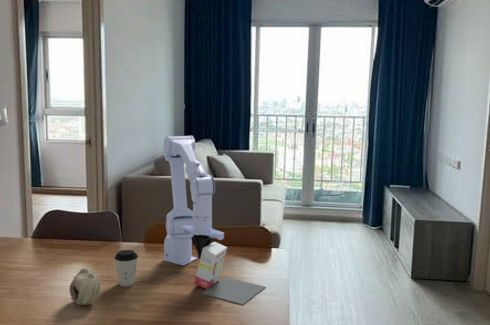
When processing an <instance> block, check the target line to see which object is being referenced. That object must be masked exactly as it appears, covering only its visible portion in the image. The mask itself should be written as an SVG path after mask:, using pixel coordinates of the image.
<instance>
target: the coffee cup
mask: <svg viewBox="0 0 490 325" xmlns="http://www.w3.org/2000/svg"><path fill="white" fill-rule="evenodd" d="M138 257H139V256H138V254H137V253H136V252H135V250H132V249H123V250H119V251H118V252H117V253H116V254H115V256H114V260H115V266H116V273H117V281H118V284H119V286H121V287H124V288H125V287H126V288H127V287H130V286H133V285H135V281H136V280H135V279H136V273H137V272H136V271H137V262H138Z"/></svg>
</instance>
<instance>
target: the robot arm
mask: <svg viewBox="0 0 490 325" xmlns="http://www.w3.org/2000/svg"><path fill="white" fill-rule="evenodd" d="M195 149H196V140H195V137H194V135H177V136H176V135H173V136H170V135H166V136H165V138H164V140H163V155H164V160H165V161H167V162H168V163H169V166H170V177H171V178H170V179H171V190H172V191H171V194H172V202H173V204H172V205H173V208H172V209H171V211H169V212H168V213H167V214H166V222H165V229H166V230H165V231H166V234H167V235H166V236H165V238H164V242H163V258H162V261H163V262H166V263H167V262H168V263H171V264H176V265H180V266H186V265H187V264H190V263H191V262H193V261H195V260H197V259H199V260H200V258H201V254H202V249H203V248H204V247H206V246H208V245H209V244H211V243H212V241H213V239H217V240H218V241H222V240H224V239H225V232H223V231H221V230H217V229H214V228H213V227H212V226H213V216H212V215H213V207H212V206H213V200H212V199H213V195H214V194H215V192H216V181H215V178H214V177H213V176H212V175H210V174H208V173H207V171H206V169H205V167H204V165H203V163H202V162H201V161H199V160H197V157H196V154H195V151H196V150H195ZM185 165H186V166H185ZM185 173H186V175H187V178H188V180H189V182H190V184H189V187H190V193H191V201H192V210H191V209H190V208H188V198H187V187H186V185H187V184H186V175H185ZM193 244H194V246H195V247H194V248H195V250H196V252H197V257H198V258H197V257H195V256H193V254H192V252H193V250H192V248H193Z"/></svg>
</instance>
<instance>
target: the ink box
mask: <svg viewBox="0 0 490 325" xmlns="http://www.w3.org/2000/svg"><path fill="white" fill-rule="evenodd" d="M227 249H228V247H227V246H225V245H223V244H221V243H219V242H216V241H213V242H211V243H210V244H209V245H208V246H206V247H204V248H203V249H202V254H201V258H200V259H199V262H198V266H197V270H196V275H195V278H194V279H195V280H194V283H193V284H194V285H196V286H198V287H201V288H203V289H206V290H207V289H209V288H211V287H212V286H214V285H215V284H217V283H218V282H219V281H220V278H221V274H222V270H223V266H224V261H225V258H226V255H227V254H226V253H227Z"/></svg>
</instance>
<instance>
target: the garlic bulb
mask: <svg viewBox="0 0 490 325" xmlns="http://www.w3.org/2000/svg"><path fill="white" fill-rule="evenodd" d="M68 290H69V294H70V296H71V297H70V299H71V301H73V303H75V304H77V306H86V305H89V306H90V305H91V304H92V303H93V302H94V301H95V299H96V298H97V297H98V295H99V292H100V290H101V281H100V278H98V277H97V275H95V271H94V270H92V269H91V268H86V267H83V268H81V269H80V270H79V271H78V273H77V274H76V275H74V277H73V280H72V281H71V283H70V285H69V289H68Z"/></svg>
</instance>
